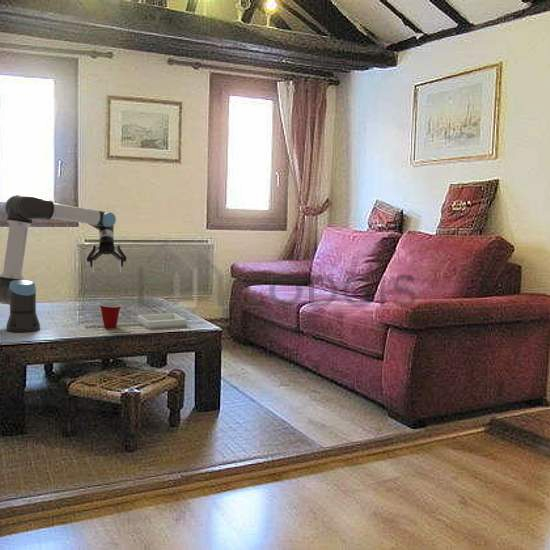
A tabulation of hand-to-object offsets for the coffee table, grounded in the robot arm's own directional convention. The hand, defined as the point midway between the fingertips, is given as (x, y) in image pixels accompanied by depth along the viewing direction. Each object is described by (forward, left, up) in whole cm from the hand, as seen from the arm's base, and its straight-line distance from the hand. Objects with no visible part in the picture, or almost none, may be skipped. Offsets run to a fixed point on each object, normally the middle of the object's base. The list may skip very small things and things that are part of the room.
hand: (106, 271), depth 336 cm
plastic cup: (-2, -19, -26) cm, 32 cm away
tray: (+24, -19, -26) cm, 40 cm away
